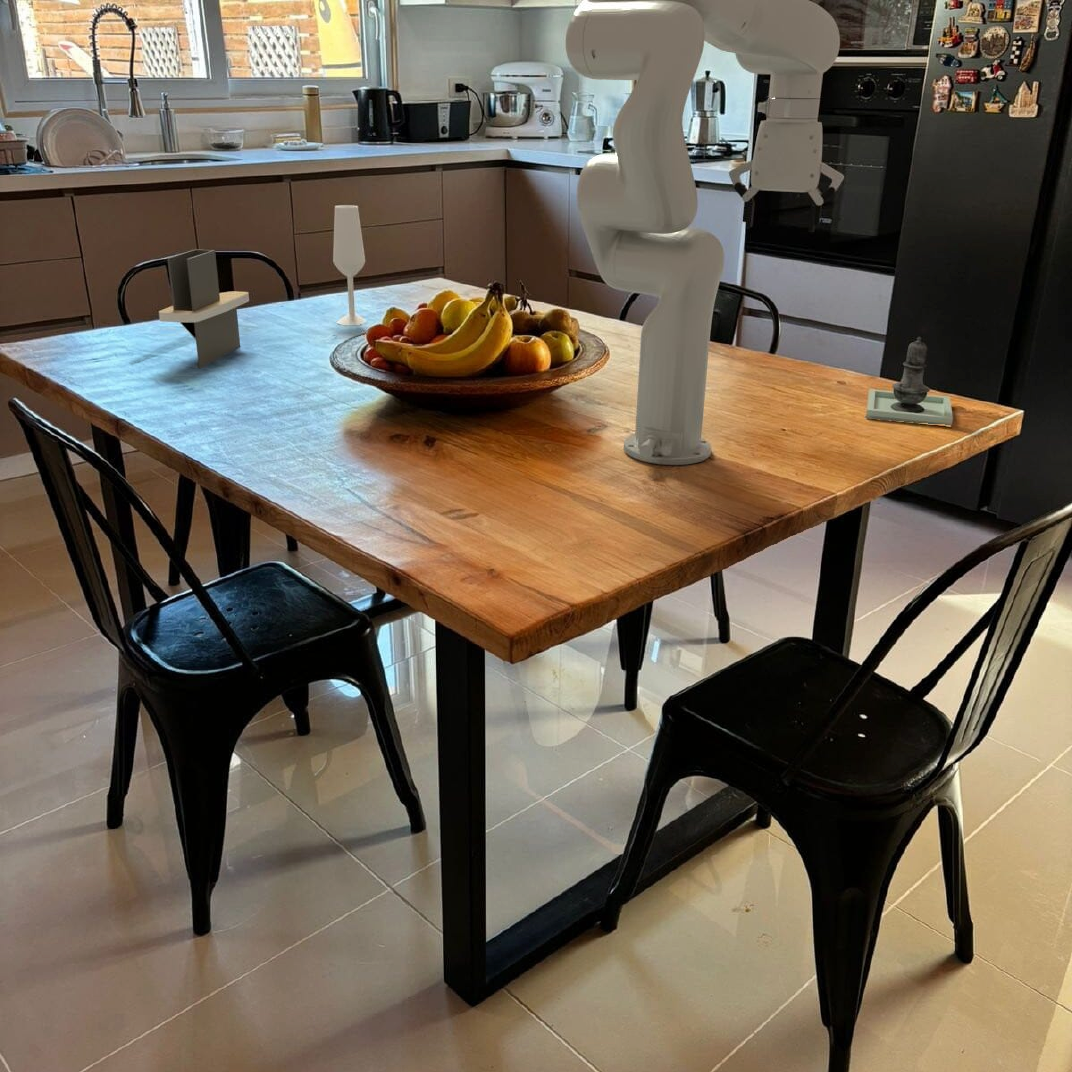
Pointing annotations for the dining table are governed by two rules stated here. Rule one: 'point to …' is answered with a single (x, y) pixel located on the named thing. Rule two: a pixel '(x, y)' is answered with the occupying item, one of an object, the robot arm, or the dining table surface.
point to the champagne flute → (348, 253)
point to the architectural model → (203, 304)
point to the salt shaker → (912, 380)
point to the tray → (934, 412)
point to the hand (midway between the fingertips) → (779, 229)
